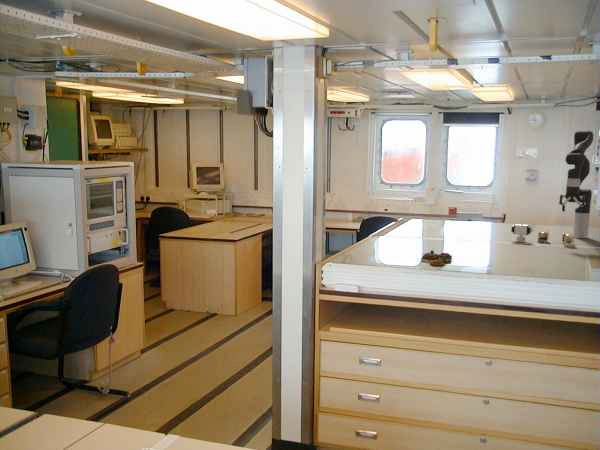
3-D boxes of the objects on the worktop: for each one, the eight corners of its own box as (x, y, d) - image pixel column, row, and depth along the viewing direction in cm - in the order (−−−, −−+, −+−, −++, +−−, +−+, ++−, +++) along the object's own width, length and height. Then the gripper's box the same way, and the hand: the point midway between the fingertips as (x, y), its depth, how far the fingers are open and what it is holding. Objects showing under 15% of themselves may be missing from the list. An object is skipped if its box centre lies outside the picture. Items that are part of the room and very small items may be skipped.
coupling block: (564, 245, 385) (565, 234, 384) (573, 245, 383) (574, 234, 382) (563, 246, 380) (564, 235, 379) (572, 247, 377) (573, 236, 376)
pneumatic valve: (529, 242, 392) (530, 224, 391) (510, 241, 399) (511, 222, 397) (531, 241, 397) (532, 223, 395) (512, 240, 403) (513, 222, 402)
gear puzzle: (451, 268, 309) (451, 260, 309) (419, 266, 313) (419, 258, 313) (452, 257, 339) (452, 250, 338) (422, 256, 343) (422, 249, 342)
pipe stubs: (539, 241, 401) (539, 230, 400) (572, 243, 391) (573, 232, 390) (537, 242, 396) (538, 231, 395) (571, 245, 386) (572, 233, 385)
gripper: (586, 186, 376) (584, 212, 378) (561, 185, 383) (559, 210, 385) (585, 186, 370) (583, 213, 372) (560, 185, 377) (558, 211, 379)
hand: (571, 212), depth 378 cm, fingers open, 8 cm apart
